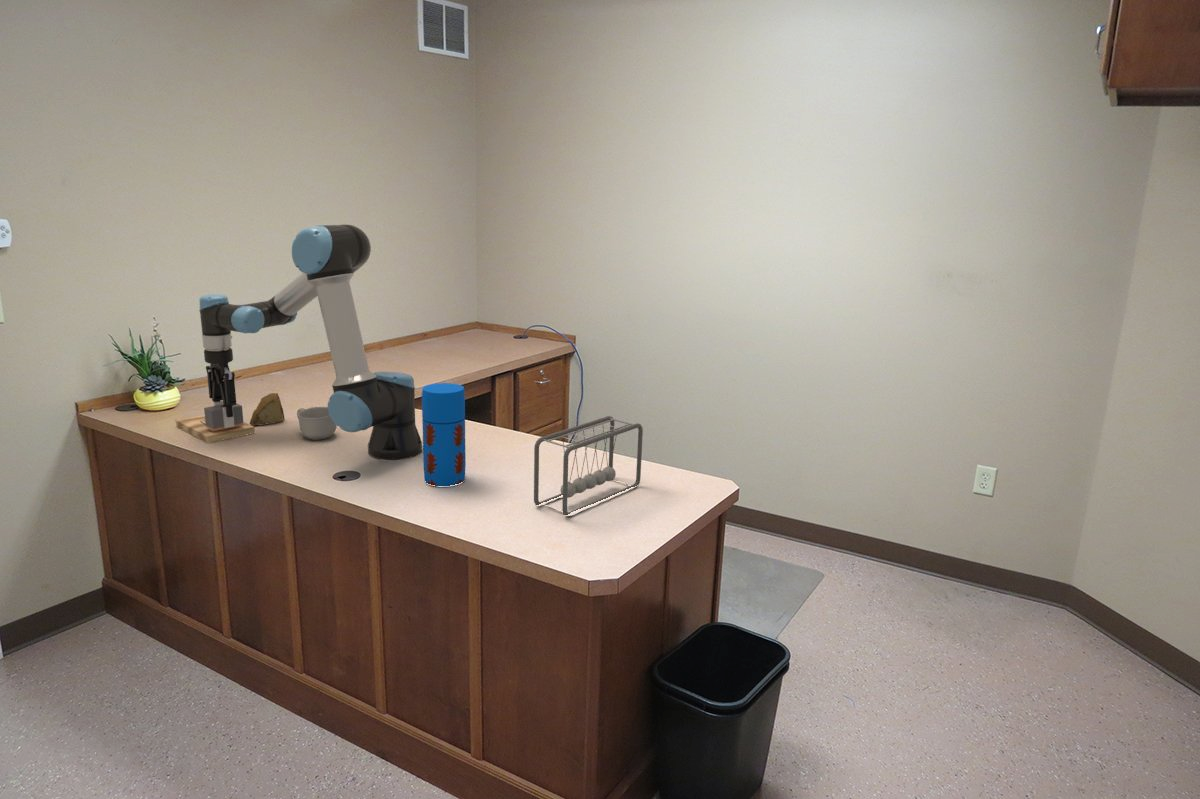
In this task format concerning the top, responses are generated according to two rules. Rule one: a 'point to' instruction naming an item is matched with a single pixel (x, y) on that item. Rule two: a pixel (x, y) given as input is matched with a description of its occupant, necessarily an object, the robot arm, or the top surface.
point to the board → (199, 430)
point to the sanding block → (221, 417)
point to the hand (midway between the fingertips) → (224, 424)
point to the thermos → (443, 433)
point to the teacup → (316, 423)
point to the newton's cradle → (589, 479)
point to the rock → (268, 410)
